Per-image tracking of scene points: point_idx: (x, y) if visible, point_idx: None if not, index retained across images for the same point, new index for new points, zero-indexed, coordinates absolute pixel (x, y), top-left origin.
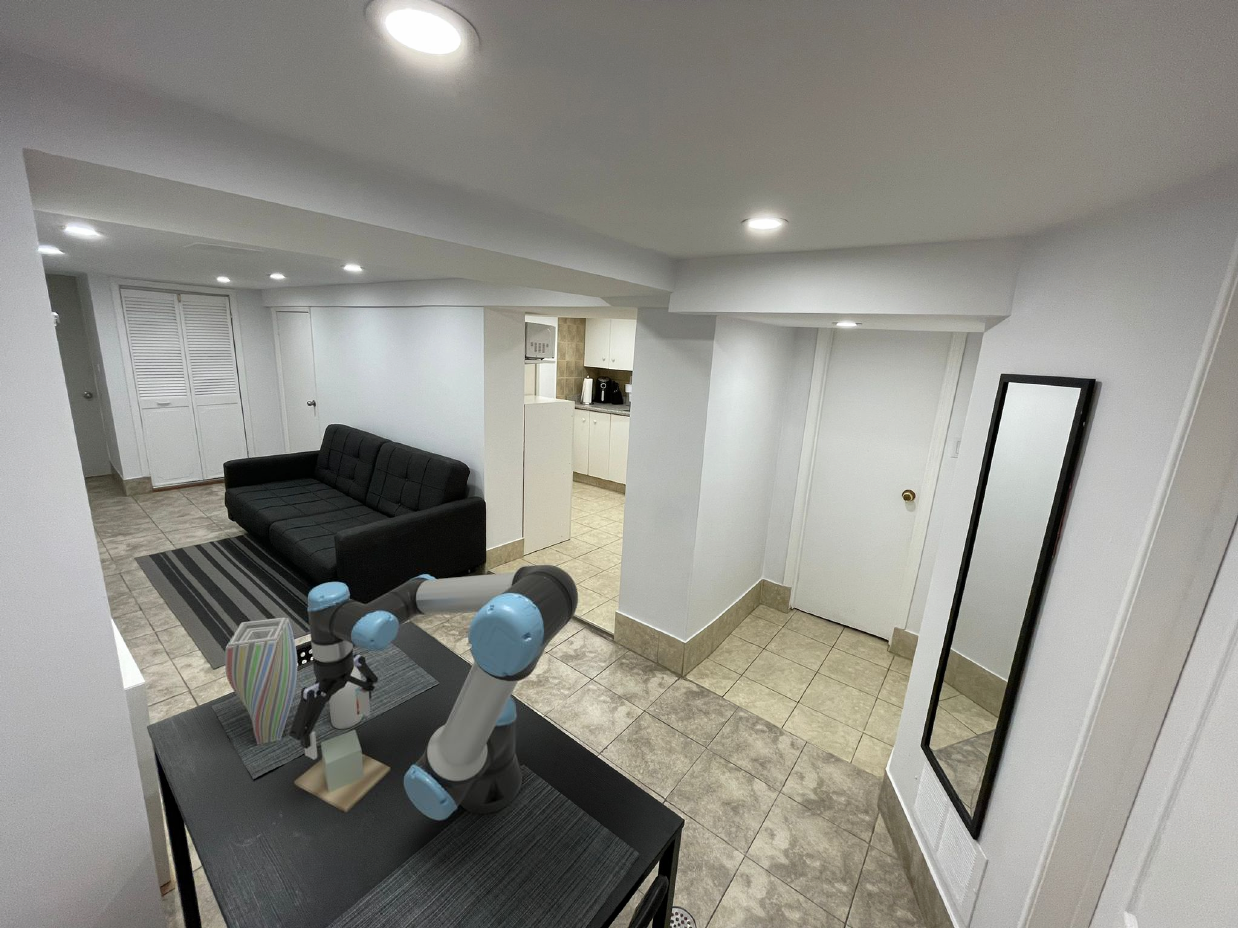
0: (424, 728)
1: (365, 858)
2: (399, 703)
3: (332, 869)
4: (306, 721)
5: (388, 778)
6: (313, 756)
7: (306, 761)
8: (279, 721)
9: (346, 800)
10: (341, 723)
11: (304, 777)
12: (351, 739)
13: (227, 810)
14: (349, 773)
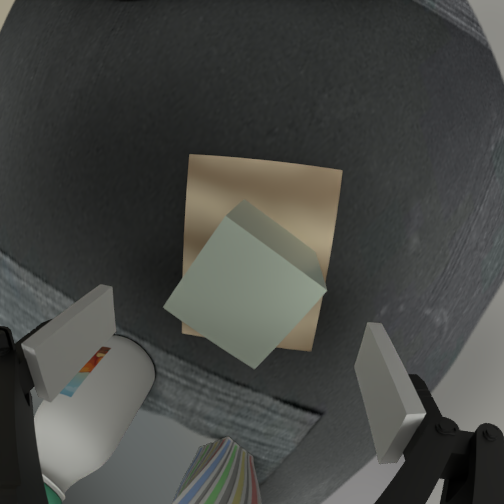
0: (65, 173)
1: (409, 54)
2: (45, 285)
3: (449, 107)
4: (482, 498)
5: (216, 139)
6: (385, 332)
7: None
8: (219, 469)
9: (319, 189)
10: (144, 366)
11: (295, 339)
12: (202, 286)
13: None
14: (270, 226)
